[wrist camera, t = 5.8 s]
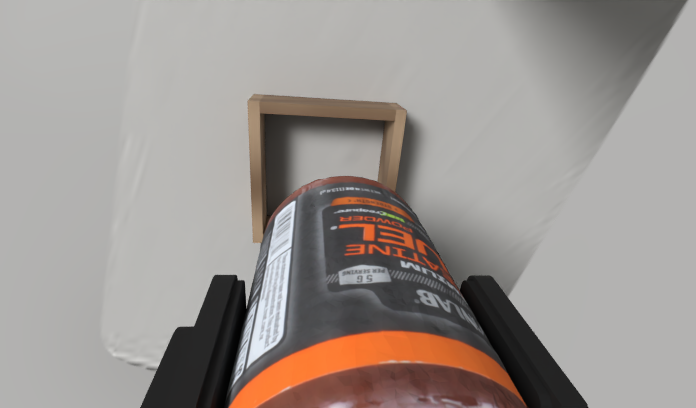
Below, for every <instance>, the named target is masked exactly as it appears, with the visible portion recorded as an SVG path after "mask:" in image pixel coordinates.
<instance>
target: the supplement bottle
mask: <svg viewBox="0 0 696 408" xmlns="http://www.w3.org/2000/svg"><path fill="white" fill-rule="evenodd" d="M224 408H527V406H526V404H525V403H524V401H523V399H522V397H521V396H520V394H519V392H518V391H517V389H516V387H515V385H514V384H513V382H512V380H511V378H510V377H509V375H508V373H507V371H506V369H505V367H504V365H503V363H502V362H501V360H500V358H499V356H498V354H497V353H496V352H495V350H494V349H493V347H492V346H491V344H490V342H489V340H488V338H487V337H486V335H485V333H484V331H483V330H482V328H481V327H480V324H479V323H478V322H477V320H476V318H475V316H474V314H473V312H472V310H471V309H470V307H469V306H468V304H467V303H466V301H465V299H464V298H463V296H462V294H461V292H460V291H459V289H458V287H457V285H456V284H455V282H454V280H453V278H452V277H451V275H450V274H449V272H448V270H447V268H446V266H445V264H444V263H443V261H442V259H441V258H440V256H439V253H438V252H437V251H436V249H435V248H434V245H433V243H432V242H431V240H430V238H429V236H428V235H427V233H426V231H425V229H424V228H423V226H422V225H421V223H420V222H419V220H418V217H417V216H416V214H415V213H414V212H413V211H412V209H411V208H410V207H409V206H408V204H407V203H406V202H405V201H404V200H403V199H402V198H401V197H400V196H399V195H398V194H397V193H395V192H394V191H393V190H391V189H390V188H388V187H386V186H384V185H383V184H381V183H379V182H376V181H373V180H369V179H366V178H362V177H354V176H338V177H329V178H326V179H318V180H315V181H313V182H311V183H309V184H307V185H305V186H302V187H301V188H300V189H298V190H296V191H295V192H294V193H293V194H291V195H290V196H289V197H287V198H286V199H285V200H284V201H283V202H282V203H281V204H280V205H279V206H278V208H277V209H276V210H275V211H274V213H273V215H272V216H271V218H270V220H269V222H268V224H267V228H266V230H265V233H264V236H263V239H262V243H261V247H260V253H259V257H258V261H257V265H256V270H255V275H254V279H253V283H252V287H251V292H250V296H249V300H248V305H247V309H246V314H245V318H244V322H243V327H242V331H241V336H240V341H239V345H238V349H237V354H236V358H235V362H234V366H233V370H232V375H231V379H230V383H229V387H228V391H227V396H226V401H225V405H224Z"/></svg>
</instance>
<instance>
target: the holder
mask: <svg viewBox="0 0 696 408" xmlns="http://www.w3.org/2000/svg"><path fill="white" fill-rule="evenodd" d="M265 114H282V115H300V116H317V117H335V118H353V119H370V120H385V124H384V132H383V141H382V149H381V157H380V166H379V174H378V182H379V183H381V184H383V185H384V186H386V187H388V188H390V189H391V190H393V191H394V192H395V190H396V183H397V176H398V169H399V162H400V155H401V148H402V141H403V135H404V128H405V121H406V114H407V110H405V109H404V108H402V107H401V106H400V105H398V104H397V103H384V102H369V101H353V100H337V99H321V98H305V97H290V96H274V95H258V94H254V95H253V96H252V97H251V98H250V99H249V100H248V124H249V150H250V175H251V201H252V227H253V243H262V239H263V236H264V233H265V230H266V228H267V224H268V222H269V220H270V218H271V216H267V206H266V155H265Z"/></svg>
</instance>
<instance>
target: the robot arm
mask: <svg viewBox="0 0 696 408" xmlns="http://www.w3.org/2000/svg"><path fill="white" fill-rule="evenodd" d="M460 292H461V294H462V296H463V298H464V299H465V301H466V303H467V304H468V306H469V307H470V309H471V310H472V312H473V314H474V316H475V318H476V320H477V322H478V323H479V324H480V327H481V328H482V330H483V331H484V333H485V335H486V337H487V338H488V340H489V342H490V344H491V346H492V347H493V349H494V350H495V352H496V353H497V354H498V356H499V358H500V360H501V362H502V363H503V365H504V367H505V369H506V371H507V373H508V375H509V377H510V378H511V380H512V382H513V384H514V385H515V387H516V389H517V391H518V392H519V394H520V396H521V397H522V399H523V401H524V403H525V404H526V406H527V408H588V406H587V403H586V402H585V400H584V399H583V398H582V396H581V395H580V394H579V392H578V391H577V390H576V388H575V387H574V386H573V384H572V383H571V382H570V380H569V379H568V378H567V376H566V375H565V374H564V372H563V371H562V370H561V368H560V367H559V366H558V364H557V363H556V362H555V360H554V359H553V358H552V356H551V355H550V354H549V352H548V351H547V349H546V348H545V347H544V346H543V344H542V343H541V341H540V340H539V339H538V337H537V336H536V335H535V333H534V332H533V331H532V329H531V328H530V327H529V325H528V324H527V323H526V321H525V320H524V319H523V317H522V316H521V315H520V313H519V312H518V311H517V310H516V308H515V307H514V305H513V304H512V303H511V301H510V300H509V299H508V297H507V296H506V295H505V293H504V292H503V291H502V289H501V288H500V287H499V285H498V284H497V283H496V281H495V280H494V279H493V278H492V277H491V276H469V277H468V279H467V281H463V282H462V285H461V288H460ZM245 314H246V294H245V282H244V280H238V279H237V275H215V276H214V277H213V279H212V282H211V284H210V287H209V290H208V292H207V295H206V297H205V300H204V302H203V305H202V308H201V310H200V313H199V315H198V318H197V321H196V323H195V326H194V327H178V328H177V329H176V330H175V332H174V334H173V336H172V338H171V340H170V342H169V344H168V347H167V349H166V351H165V353H164V356H163V358H162V360H161V362H160V365H159V367H158V369H157V371H156V374H155V376H154V378H153V381H152V383H151V385H150V387H149V390H148V392H147V394H146V396H145V398H144V401H143V403H142V405H141V407H140V408H224V405H225V401H226V396H227V391H228V387H229V383H230V379H231V375H232V370H233V366H234V362H235V358H236V354H237V349H238V345H239V341H240V336H241V331H242V327H243V322H244V318H245Z"/></svg>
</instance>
